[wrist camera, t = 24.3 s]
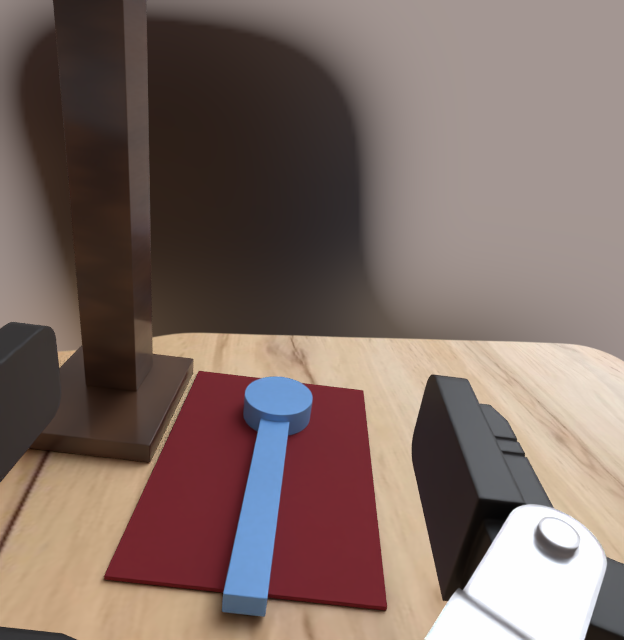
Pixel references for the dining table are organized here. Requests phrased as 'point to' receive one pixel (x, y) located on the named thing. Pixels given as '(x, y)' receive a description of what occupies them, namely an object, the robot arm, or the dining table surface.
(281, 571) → the cloth
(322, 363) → the dining table surface
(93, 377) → the stand
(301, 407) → the blue disc paddle
